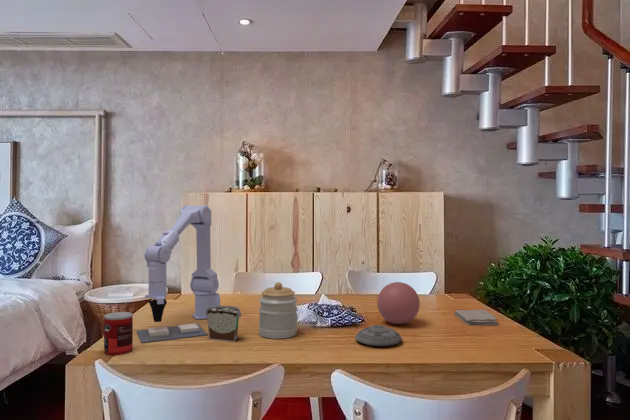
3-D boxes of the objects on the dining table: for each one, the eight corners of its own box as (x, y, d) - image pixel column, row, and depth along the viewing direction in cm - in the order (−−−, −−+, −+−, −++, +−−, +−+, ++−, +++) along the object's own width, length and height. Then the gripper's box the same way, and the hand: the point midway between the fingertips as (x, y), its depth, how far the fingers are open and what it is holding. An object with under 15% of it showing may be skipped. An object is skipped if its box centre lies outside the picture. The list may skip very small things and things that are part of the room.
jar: (267, 341, 151) (267, 286, 151) (253, 331, 163) (253, 280, 163) (303, 336, 157) (303, 283, 157) (287, 327, 169) (287, 278, 169)
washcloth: (468, 327, 172) (468, 318, 172) (453, 315, 190) (453, 307, 190) (500, 327, 172) (500, 318, 172) (482, 315, 190) (482, 307, 190)
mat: (197, 324, 172) (197, 323, 172) (207, 335, 158) (207, 334, 158) (136, 331, 162) (136, 330, 162) (141, 343, 149) (141, 342, 149)
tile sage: (166, 326, 162) (168, 330, 156) (166, 331, 162) (168, 335, 156) (147, 328, 159) (149, 333, 154) (147, 333, 159) (149, 337, 154)
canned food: (109, 347, 144) (109, 311, 144) (136, 347, 145) (135, 311, 145) (99, 355, 137) (99, 318, 137) (128, 355, 137) (128, 317, 137)
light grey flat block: (195, 323, 166) (199, 327, 161) (195, 327, 166) (199, 332, 161) (178, 325, 163) (181, 329, 158) (178, 329, 163) (181, 334, 158)
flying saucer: (391, 352, 142) (391, 334, 142) (347, 344, 149) (347, 327, 149) (409, 340, 154) (409, 323, 154) (367, 333, 162) (367, 317, 162)
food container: (247, 337, 156) (247, 307, 156) (238, 342, 151) (238, 311, 150) (215, 333, 160) (215, 304, 160) (205, 338, 155) (205, 308, 154)
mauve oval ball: (408, 315, 188) (408, 276, 187) (425, 328, 168) (425, 285, 168) (370, 316, 186) (370, 277, 186) (383, 329, 166) (383, 286, 166)
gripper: (142, 278, 163) (142, 317, 164) (147, 285, 150) (147, 328, 150) (163, 277, 166) (163, 315, 167) (170, 284, 153) (170, 325, 154)
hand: (157, 321), depth 159 cm, fingers closed
